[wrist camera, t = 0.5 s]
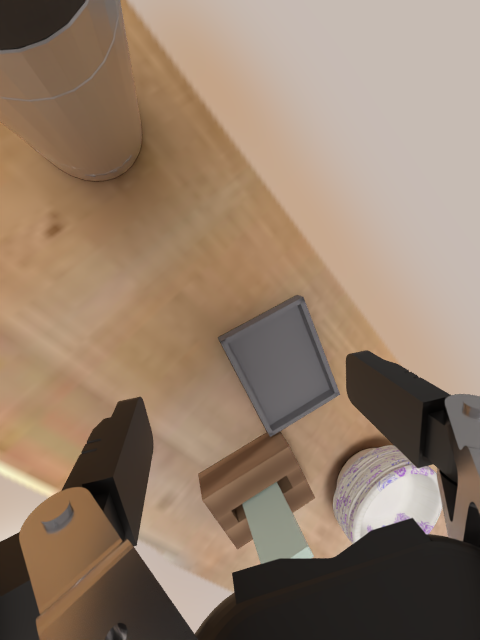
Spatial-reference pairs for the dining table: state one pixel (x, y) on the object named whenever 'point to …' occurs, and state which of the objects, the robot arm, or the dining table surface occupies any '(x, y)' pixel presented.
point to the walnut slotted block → (252, 483)
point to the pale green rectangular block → (274, 526)
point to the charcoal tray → (281, 364)
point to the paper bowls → (384, 492)
